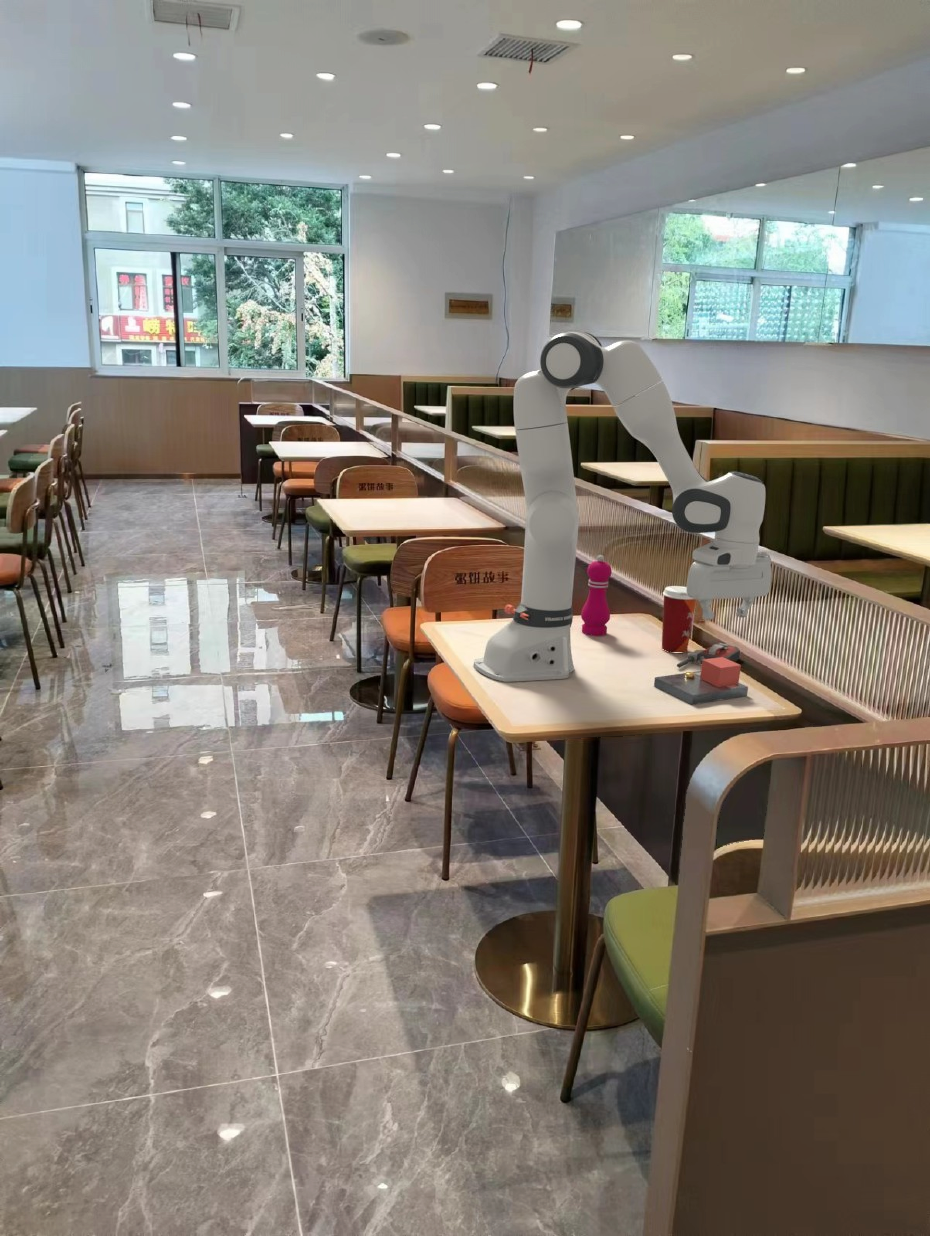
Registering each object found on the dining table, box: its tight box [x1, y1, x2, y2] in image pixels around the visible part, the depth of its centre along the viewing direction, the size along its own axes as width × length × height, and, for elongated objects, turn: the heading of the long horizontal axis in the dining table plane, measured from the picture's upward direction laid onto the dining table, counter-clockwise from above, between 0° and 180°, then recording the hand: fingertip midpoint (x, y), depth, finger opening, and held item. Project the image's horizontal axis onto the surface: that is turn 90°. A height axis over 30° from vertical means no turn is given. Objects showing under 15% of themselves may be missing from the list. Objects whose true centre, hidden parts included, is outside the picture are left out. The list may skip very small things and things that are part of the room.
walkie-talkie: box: [676, 642, 741, 669], centre depth 222 cm, size 9×4×20 cm
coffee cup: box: [661, 585, 697, 653], centre depth 230 cm, size 8×8×15 cm
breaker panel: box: [653, 670, 749, 705], centre depth 202 cm, size 15×12×3 cm
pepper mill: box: [580, 554, 612, 637], centre depth 240 cm, size 7×7×20 cm
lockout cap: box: [700, 657, 742, 687], centre depth 202 cm, size 6×6×4 cm
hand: (724, 618), depth 200 cm, fingers open, 8 cm apart
